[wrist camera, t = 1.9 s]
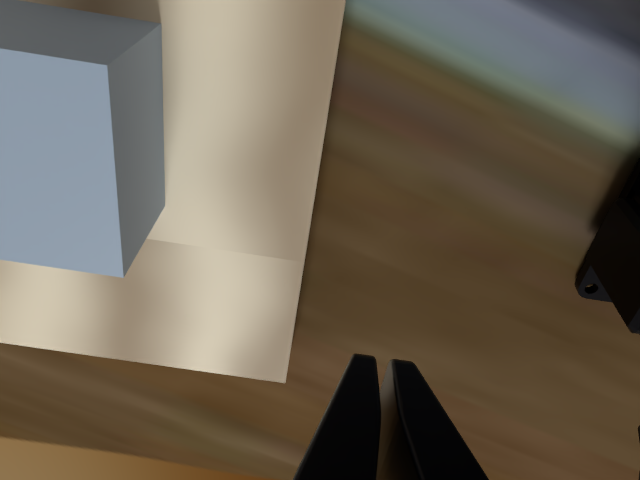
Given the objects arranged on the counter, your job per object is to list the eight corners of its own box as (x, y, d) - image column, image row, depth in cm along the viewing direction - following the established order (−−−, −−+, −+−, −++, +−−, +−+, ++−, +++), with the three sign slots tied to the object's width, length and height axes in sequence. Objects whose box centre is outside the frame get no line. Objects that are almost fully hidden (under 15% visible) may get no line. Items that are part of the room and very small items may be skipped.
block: (161, 23, 15) (107, 65, 12) (165, 205, 19) (123, 277, 15) (-55, -12, 15) (-171, 21, 12) (-12, 179, 18) (-93, 246, 15)
